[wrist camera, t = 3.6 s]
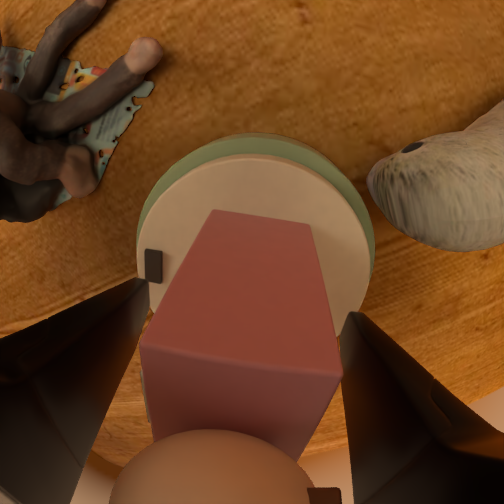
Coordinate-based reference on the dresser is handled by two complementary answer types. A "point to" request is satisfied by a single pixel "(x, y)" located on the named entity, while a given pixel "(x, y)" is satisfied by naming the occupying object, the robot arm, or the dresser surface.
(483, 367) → the dresser surface
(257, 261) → the doll
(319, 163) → the turntable base
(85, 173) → the stuffed animal
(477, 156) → the decorative bird
